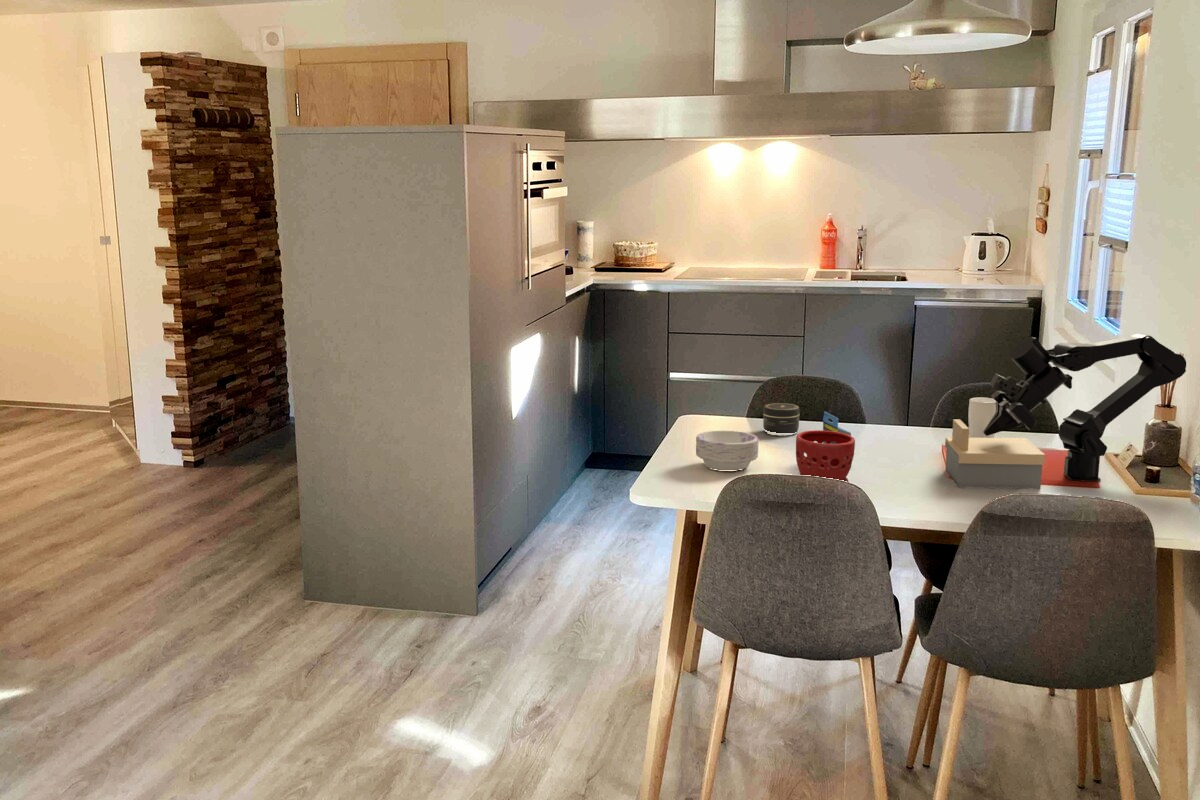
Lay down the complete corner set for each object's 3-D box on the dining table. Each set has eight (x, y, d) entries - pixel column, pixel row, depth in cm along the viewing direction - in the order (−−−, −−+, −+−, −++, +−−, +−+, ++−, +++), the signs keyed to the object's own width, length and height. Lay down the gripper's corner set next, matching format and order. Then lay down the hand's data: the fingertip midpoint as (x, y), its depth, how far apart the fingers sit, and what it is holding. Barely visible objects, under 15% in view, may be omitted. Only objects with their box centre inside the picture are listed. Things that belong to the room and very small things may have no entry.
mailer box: (1023, 472, 251) (1025, 443, 249) (1040, 488, 237) (1042, 458, 236) (945, 471, 253) (946, 442, 252) (957, 487, 239) (959, 457, 238)
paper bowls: (770, 467, 259) (771, 435, 257) (730, 479, 248) (731, 446, 247) (723, 456, 270) (723, 426, 268) (683, 467, 259) (683, 436, 258)
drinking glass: (993, 456, 267) (997, 397, 264) (995, 462, 260) (999, 403, 257) (965, 454, 268) (968, 396, 265) (966, 461, 262) (970, 401, 259)
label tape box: (851, 466, 259) (853, 417, 256) (836, 467, 258) (837, 418, 256) (836, 457, 267) (837, 410, 265) (821, 458, 266) (822, 410, 264)
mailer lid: (1024, 447, 250) (1026, 417, 249) (1044, 464, 235) (1046, 432, 234) (945, 446, 253) (946, 416, 251) (959, 463, 237) (960, 431, 236)
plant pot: (794, 494, 236) (796, 441, 233) (794, 478, 248) (796, 428, 246) (854, 496, 233) (856, 443, 231) (851, 480, 246) (853, 430, 244)
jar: (794, 428, 300) (794, 402, 299) (803, 436, 291) (803, 409, 289) (759, 429, 300) (759, 403, 298) (767, 437, 290) (767, 410, 289)
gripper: (1003, 356, 248) (951, 401, 252) (1025, 369, 230) (970, 417, 233) (1035, 389, 249) (983, 434, 252) (1060, 405, 231) (1004, 453, 234)
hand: (984, 434), depth 243 cm, fingers closed
